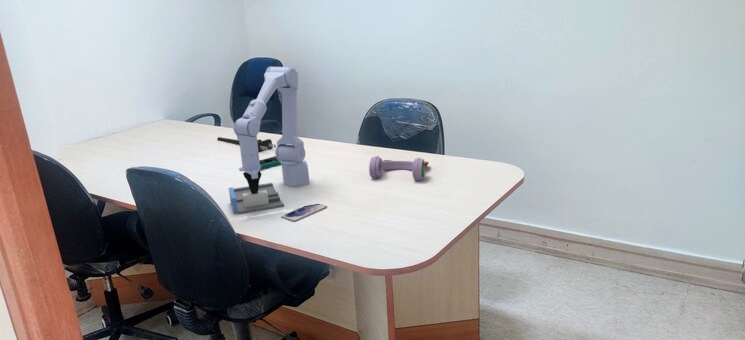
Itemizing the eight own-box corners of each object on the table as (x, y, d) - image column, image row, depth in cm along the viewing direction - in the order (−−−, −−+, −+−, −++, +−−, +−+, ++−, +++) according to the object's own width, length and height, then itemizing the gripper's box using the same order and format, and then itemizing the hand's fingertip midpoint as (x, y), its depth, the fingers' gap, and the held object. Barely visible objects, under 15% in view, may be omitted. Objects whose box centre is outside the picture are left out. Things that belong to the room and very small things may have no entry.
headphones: (368, 161, 203) (381, 141, 220) (370, 185, 207) (383, 163, 224) (420, 163, 197) (430, 142, 215) (421, 188, 202) (430, 165, 219)
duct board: (272, 186, 204) (270, 170, 202) (284, 208, 182) (282, 191, 180) (227, 193, 199) (225, 177, 197) (234, 217, 177) (232, 199, 176)
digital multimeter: (287, 164, 231) (287, 157, 231) (256, 172, 222) (255, 166, 222) (278, 161, 237) (277, 154, 236) (247, 169, 228) (247, 162, 227)
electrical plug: (264, 154, 246) (263, 144, 245) (212, 145, 273) (210, 136, 271) (279, 150, 252) (277, 139, 251) (226, 141, 279) (225, 132, 277)
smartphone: (279, 216, 175) (313, 202, 186) (280, 218, 176) (313, 204, 186) (294, 221, 171) (328, 206, 182) (294, 223, 171) (328, 208, 182)
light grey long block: (278, 198, 189) (277, 188, 188) (280, 201, 186) (279, 190, 185) (243, 204, 186) (242, 193, 184) (244, 207, 183) (243, 196, 182)
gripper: (235, 150, 185) (240, 188, 189) (239, 161, 172) (245, 201, 176) (256, 147, 187) (260, 184, 191) (262, 158, 174) (266, 198, 178)
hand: (254, 192), depth 184 cm, fingers closed
